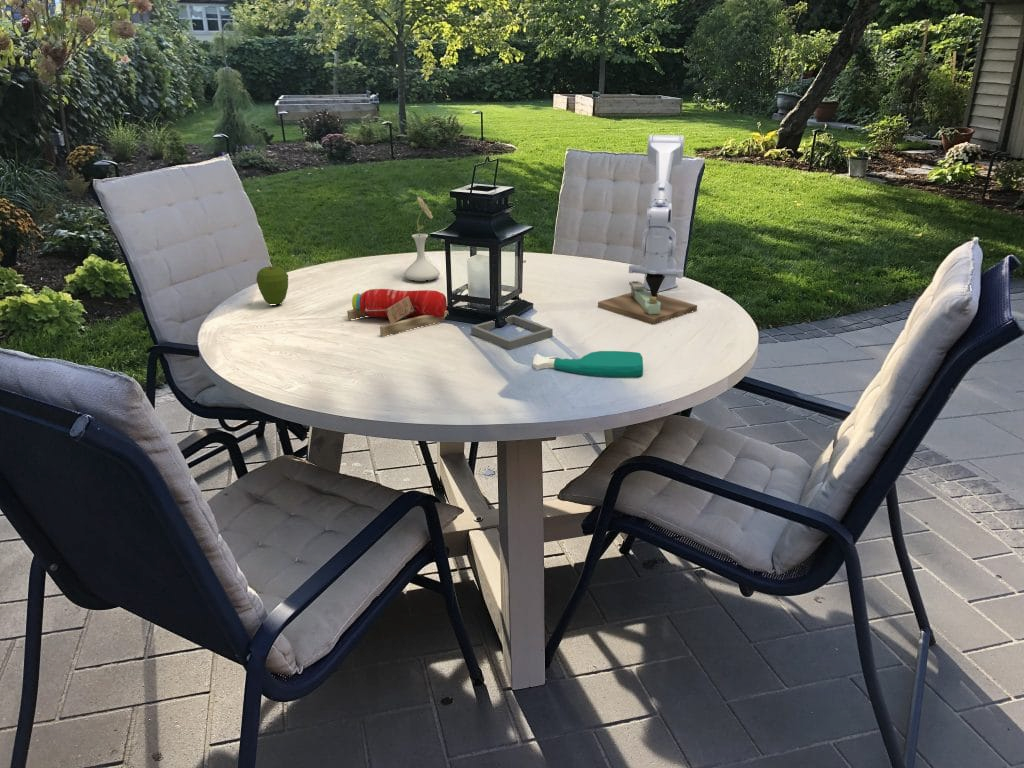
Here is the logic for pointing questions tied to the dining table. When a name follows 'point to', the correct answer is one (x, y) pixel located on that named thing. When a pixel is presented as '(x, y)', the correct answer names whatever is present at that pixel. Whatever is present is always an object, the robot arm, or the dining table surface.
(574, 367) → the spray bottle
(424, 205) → the flower in vase
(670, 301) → the board
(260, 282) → the apple
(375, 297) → the water bottle
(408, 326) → the bottle cradle
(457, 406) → the dining table surface
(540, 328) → the mousse rim
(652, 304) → the link
